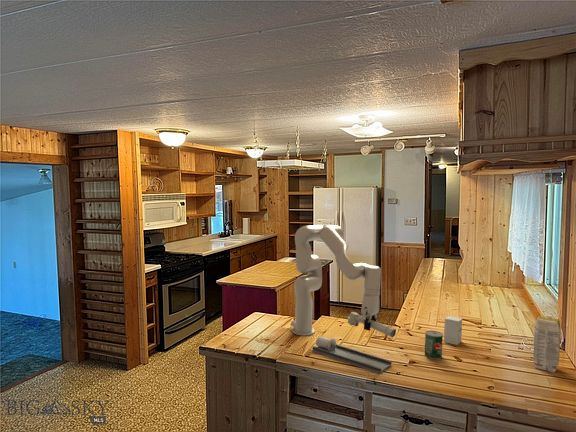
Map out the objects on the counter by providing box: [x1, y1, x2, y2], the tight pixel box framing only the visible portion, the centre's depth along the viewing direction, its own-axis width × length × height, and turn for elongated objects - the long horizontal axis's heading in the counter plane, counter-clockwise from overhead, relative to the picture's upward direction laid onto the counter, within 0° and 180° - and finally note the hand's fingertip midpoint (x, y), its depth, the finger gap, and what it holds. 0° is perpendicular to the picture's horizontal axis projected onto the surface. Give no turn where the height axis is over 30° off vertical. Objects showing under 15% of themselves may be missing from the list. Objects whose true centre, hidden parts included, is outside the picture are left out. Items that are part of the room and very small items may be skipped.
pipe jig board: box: [312, 335, 392, 375], centre depth 181 cm, size 36×11×7 cm, turn 50°
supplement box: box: [443, 315, 463, 346], centre depth 205 cm, size 7×7×13 cm
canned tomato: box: [424, 330, 444, 360], centre depth 186 cm, size 8×8×11 cm
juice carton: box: [532, 314, 562, 373], centre depth 174 cm, size 9×8×24 cm
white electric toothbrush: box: [347, 311, 397, 338], centre depth 187 cm, size 5×7×25 cm
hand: (369, 328), depth 188 cm, fingers closed on white electric toothbrush, 4 cm apart
